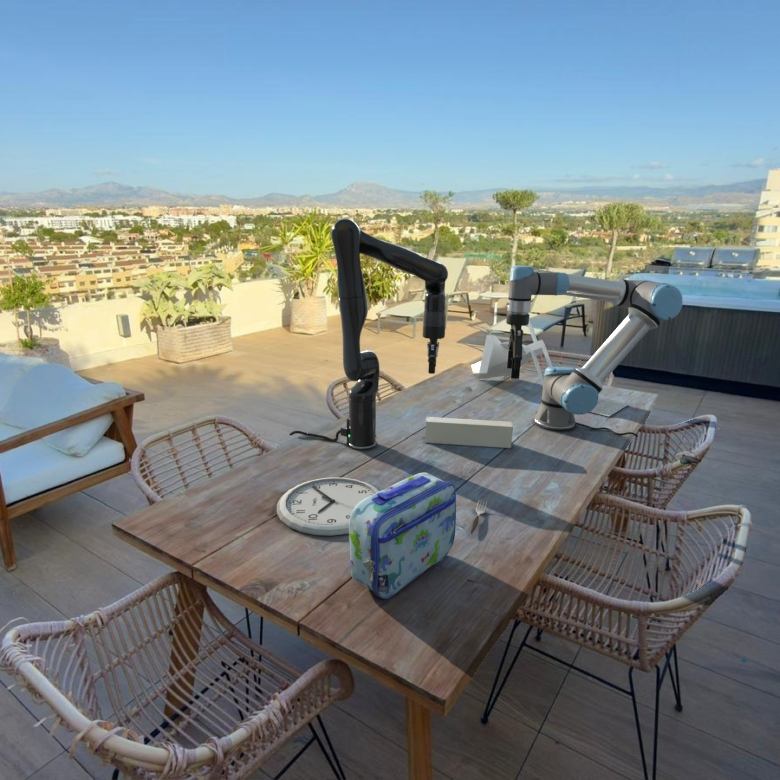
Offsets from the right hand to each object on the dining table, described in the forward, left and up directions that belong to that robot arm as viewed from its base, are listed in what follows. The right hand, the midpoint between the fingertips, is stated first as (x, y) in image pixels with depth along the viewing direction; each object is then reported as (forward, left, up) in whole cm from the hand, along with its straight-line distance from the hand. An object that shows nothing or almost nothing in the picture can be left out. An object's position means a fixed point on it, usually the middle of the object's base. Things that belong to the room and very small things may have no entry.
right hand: (512, 373), depth 183 cm
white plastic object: (-8, -68, -25) cm, 73 cm away
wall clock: (+52, +56, -25) cm, 80 cm away
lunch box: (+30, +82, -25) cm, 91 cm away
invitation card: (-44, -43, -25) cm, 66 cm away
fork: (+13, +58, -25) cm, 64 cm away
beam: (+14, +6, -25) cm, 29 cm away
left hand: (+28, +6, +1) cm, 29 cm away
